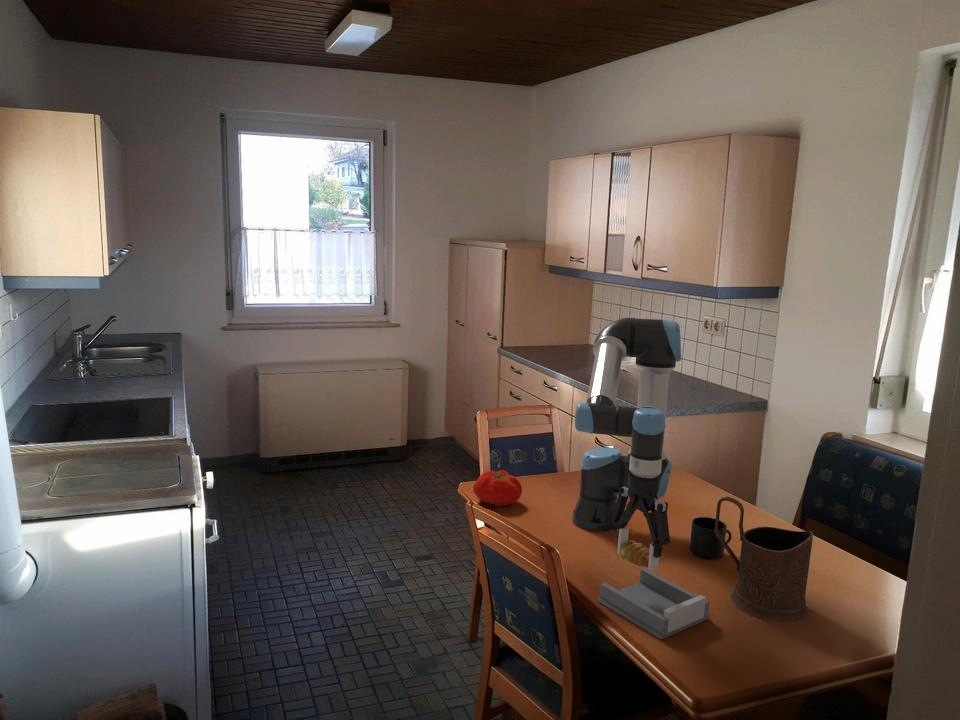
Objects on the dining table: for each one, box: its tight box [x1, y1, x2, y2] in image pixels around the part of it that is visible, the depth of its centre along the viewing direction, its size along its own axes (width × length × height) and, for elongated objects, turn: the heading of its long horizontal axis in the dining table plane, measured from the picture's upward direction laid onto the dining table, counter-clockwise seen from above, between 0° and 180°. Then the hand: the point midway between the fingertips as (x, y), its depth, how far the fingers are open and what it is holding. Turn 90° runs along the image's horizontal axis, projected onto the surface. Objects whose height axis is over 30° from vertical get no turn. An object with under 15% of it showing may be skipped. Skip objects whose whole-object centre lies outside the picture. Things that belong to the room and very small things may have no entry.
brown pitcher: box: [715, 496, 814, 625], centre depth 183 cm, size 18×24×25 cm
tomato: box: [472, 469, 523, 507], centre depth 243 cm, size 14×16×10 cm
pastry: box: [620, 540, 650, 568], centre depth 181 cm, size 9×7×4 cm
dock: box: [597, 568, 710, 640], centre depth 178 cm, size 20×17×6 cm
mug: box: [689, 516, 732, 561], centre depth 211 cm, size 9×12×9 cm
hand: (637, 560), depth 181 cm, fingers closed on pastry, 9 cm apart
